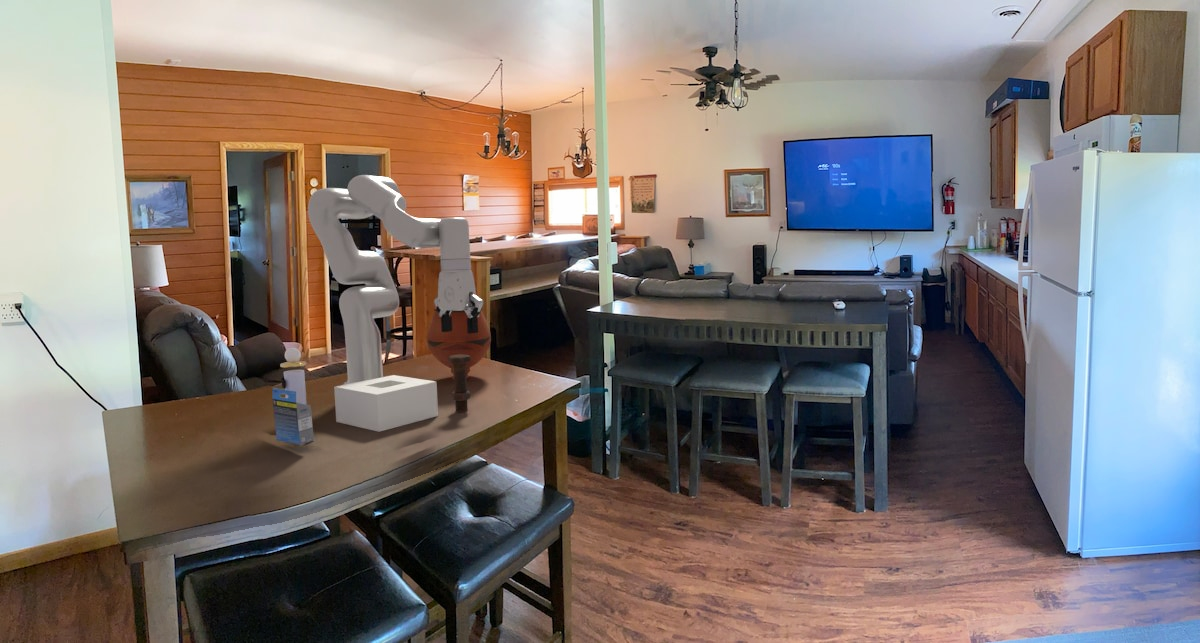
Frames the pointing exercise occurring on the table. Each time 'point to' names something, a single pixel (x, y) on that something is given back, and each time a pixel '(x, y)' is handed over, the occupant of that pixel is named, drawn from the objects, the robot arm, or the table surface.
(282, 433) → the label tape box
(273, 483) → the table surface
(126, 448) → the table surface
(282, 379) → the perfume bottle
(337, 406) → the hitch block
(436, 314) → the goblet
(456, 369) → the bolt
